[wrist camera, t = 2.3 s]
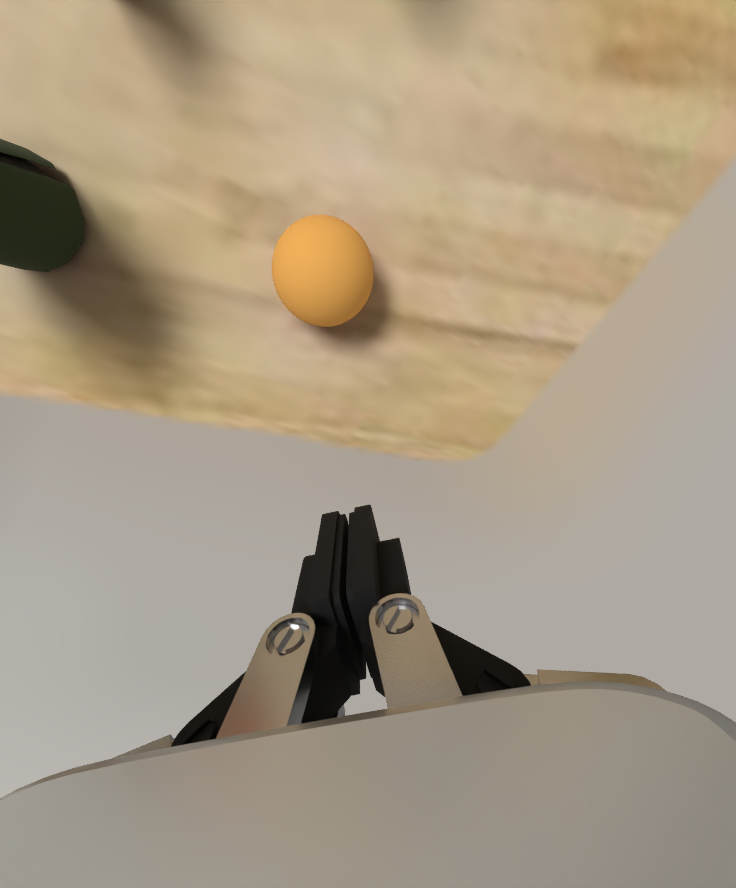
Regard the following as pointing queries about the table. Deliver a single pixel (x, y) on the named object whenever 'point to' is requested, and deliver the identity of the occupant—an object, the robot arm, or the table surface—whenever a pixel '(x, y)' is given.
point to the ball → (322, 270)
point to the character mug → (35, 213)
